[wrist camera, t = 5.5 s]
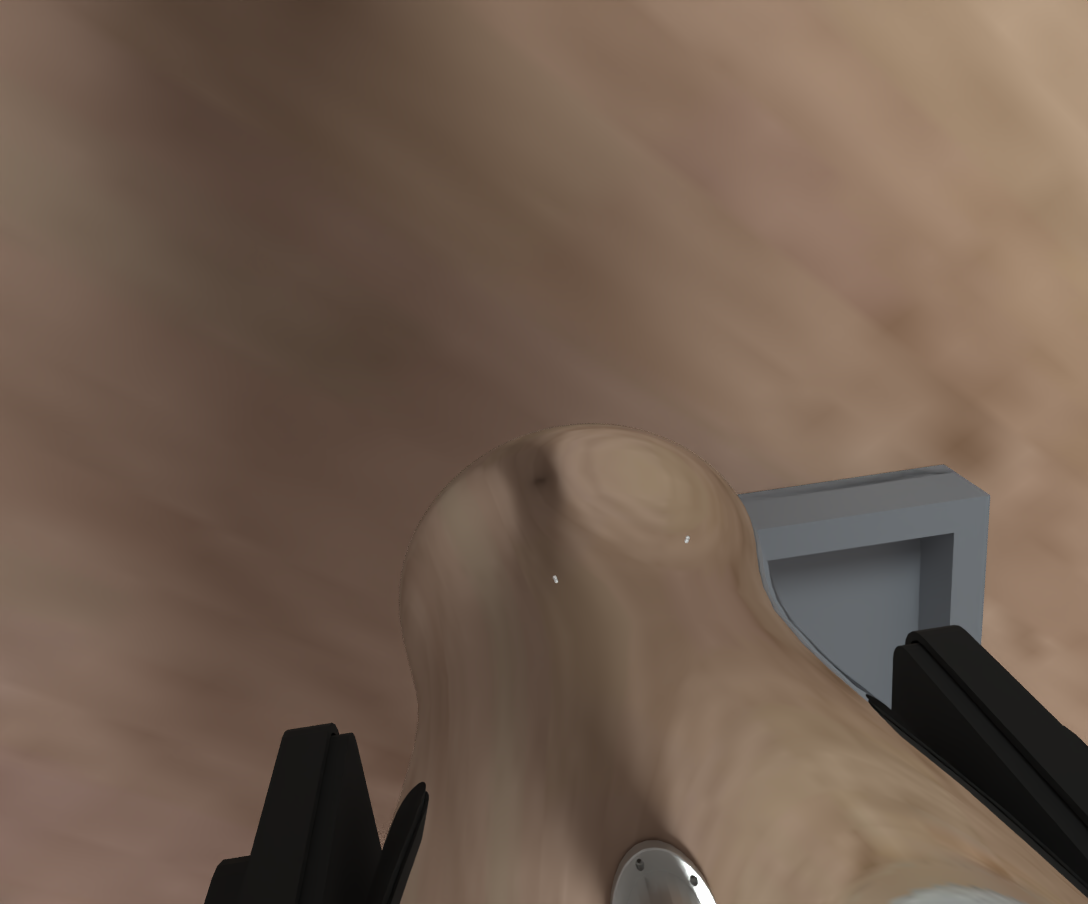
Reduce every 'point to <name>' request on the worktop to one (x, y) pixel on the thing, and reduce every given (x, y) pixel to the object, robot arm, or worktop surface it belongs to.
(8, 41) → the worktop surface
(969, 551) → the slate tray
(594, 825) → the beer glass
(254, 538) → the worktop surface
